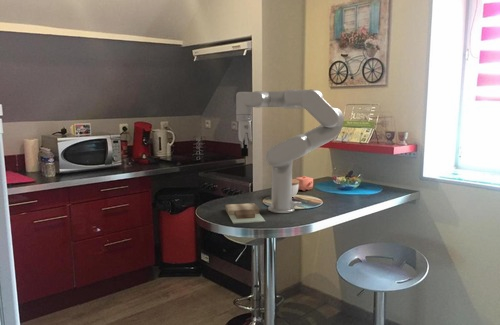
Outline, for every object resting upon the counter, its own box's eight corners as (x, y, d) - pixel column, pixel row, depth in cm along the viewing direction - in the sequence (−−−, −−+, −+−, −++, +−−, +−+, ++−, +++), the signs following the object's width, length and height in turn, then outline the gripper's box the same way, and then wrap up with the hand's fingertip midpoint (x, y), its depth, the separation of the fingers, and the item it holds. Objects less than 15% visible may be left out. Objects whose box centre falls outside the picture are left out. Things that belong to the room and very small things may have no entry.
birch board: (254, 208, 206) (254, 203, 205) (259, 214, 195) (259, 209, 195) (225, 209, 203) (225, 204, 203) (229, 216, 192) (229, 210, 192)
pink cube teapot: (306, 192, 239) (306, 178, 238) (292, 189, 249) (292, 175, 247) (316, 191, 243) (317, 177, 242) (302, 187, 253) (303, 174, 252)
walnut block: (251, 213, 194) (251, 209, 194) (254, 217, 188) (254, 213, 187) (234, 214, 193) (234, 210, 193) (237, 218, 186) (237, 214, 186)
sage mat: (259, 214, 195) (259, 213, 195) (265, 221, 184) (265, 220, 183) (229, 216, 192) (229, 215, 192) (233, 223, 181) (233, 222, 181)
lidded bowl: (297, 200, 221) (297, 179, 219) (273, 199, 224) (273, 178, 222) (299, 195, 233) (300, 175, 232) (277, 194, 236) (277, 174, 234)
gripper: (255, 118, 196) (255, 158, 199) (248, 117, 210) (249, 154, 213) (239, 118, 194) (239, 158, 197) (233, 117, 209) (234, 154, 212)
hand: (244, 156), depth 205 cm, fingers closed
